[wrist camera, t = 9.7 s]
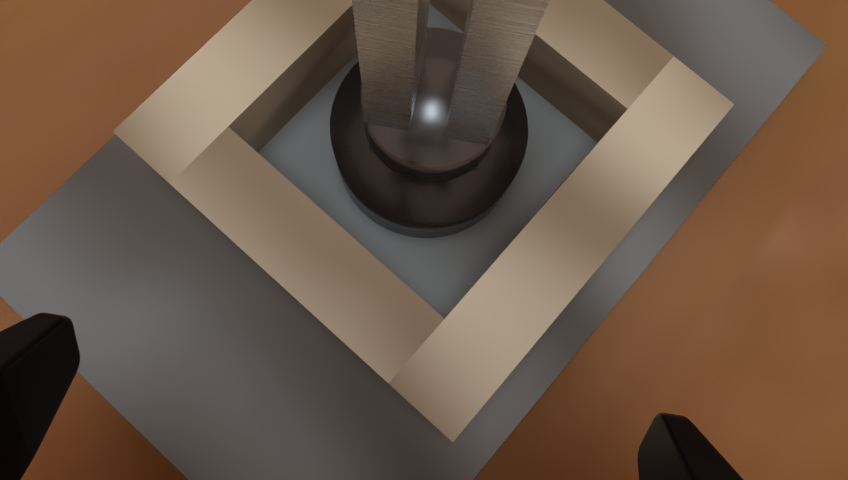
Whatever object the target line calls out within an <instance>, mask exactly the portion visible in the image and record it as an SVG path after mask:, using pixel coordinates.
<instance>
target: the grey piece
mask: <svg viewBox="0 0 848 480" xmlns="http://www.w3.org/2000/svg"><path fill="white" fill-rule="evenodd" d="M549 1H550V0H471V1H470V5H469V10H468V15H467V20H466V24H465V29H464V34H462V33H460V32H457V31H454V30H450V29H445V28H427V24H428V14H429V4H430V0H352V7H353V15H354V23H355V32H356V40H357V49H358V57H359V61H358V62H357V63H356V64H355V65H354V66H353V67H352V68H351V70H350V71H349V72H348V73H347V75H346V76H345V78H344V79H343V81H342V83H341V84H340V86H339V88H338V91H337V93H336V95H335V98H334V102H333V105H332V109H331V116H330V137H331V145H332V148H333V152H334V155H335V159H336V162H337V166H338V169H339V173H340V176H341V179H342V182H343V184H344V186H345V189H346V191H347V192H348V194H349V196H350V197H351V199H352V200H353V202H354V203H355V204H356V205H357V207H358V208H359V209H360V210H361V211H362V212H363V213H364V214H365V215H366V216H367V217H369V218H370V219H371V220H373V221H374V222H375V223H377V224H379V225H380V226H382V227H384V228H386V229H388V230H390V231H393V232H395V233H398V234H402V235H406V236H410V237H418V238H436V237H443V236H448V235H452V234H455V233H458V232H461V231H463V230H465V229H468V228H469V227H471V226H473V225H474V224H476V223H478V222H479V221H480V220H482V219H483V218H484V217H485V216H487V215H488V214H489V213H490V212H491V211H492V210H493V208H494V207H495V206H496V205H497V203H498V202H499V201H500V199H501V198H502V196H503V195H504V193H505V192H506V190H507V189H508V187H509V186H510V184H511V183H512V181H513V180H514V178H515V176H516V174H517V172H518V171H519V169H520V167H521V164H522V161H523V159H524V156H525V152H526V147H527V142H528V119H527V114H526V108H525V105H524V102H523V99H522V96H521V94H520V92H519V90H518V88H517V86H516V84H515V83H514V82H515V80H516V78H517V75H518V73H519V71H520V68H521V66H522V64H523V61H524V59H525V57H526V54H527V52H528V50H529V47H530V45H531V43H532V40H533V38H534V36H535V33H536V31H537V29H538V26H539V24H540V22H541V19H542V17H543V15H544V12H545V10H546V8H547V5H548V3H549Z"/></svg>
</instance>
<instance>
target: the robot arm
mask: <svg viewBox="0 0 848 480" xmlns="http://www.w3.org/2000/svg"><path fill="white" fill-rule="evenodd" d="M79 364H80V352H79V347H78V343H77V339H76V334H75V330H74V326H73V322H72V320H71V319H70V318H69V317H67V316H64V315H57V314H51V313H38V314H36V315H33V316H31V317H29V318H27V319H25V320H23V321H21V322H19V323H17V324H15V325H13V326H11V327H9V328H7V329H5V330H3V331H0V480H20V479H21V478H22V476H23V474H24V473H25V471H26V469H27V468H28V466H29V465H30V463H31V461H32V459H33V458H34V456H35V454H36V452H37V450H38V448H39V446H40V444H41V442H42V440H43V438H44V436H45V434H46V432H47V430H48V428H49V426H50V424H51V422H52V420H53V418H54V416H55V414H56V412H57V410H58V408H59V406H60V404H61V402H62V400H63V398H64V396H65V394H66V392H67V390H68V388H69V387H70V385H71V383H72V381H73V379H74V377H75V375H76V372H77V370H78V367H79ZM638 471H639V480H743V479H742V478H741V477H740V475H739V474H738V473H737V472H736V471H735V470H734V469H733V468H732V466H731V465H730V464H729V463H728V462H727V461H726V460H725V459H724V458H723V456H722V455H721V454H720V453H719V452H718V451H717V450H716V449H715V448H714V446H713V445H712V444H711V443H710V442H709V441H708V440H707V439H706V438H705V436H704V435H703V434H702V433H701V432H700V431H699V430H698V429H697V427H696V426H695V425H694V424H693V423H692V422H691V421H690V420H689V419H688V418H686V417H684V416H680V415H674V414H668V413H659V414H658V415H656V417H655V418H654V420H653V422H652V424H651V425H650V427H649V429H648V431H647V433H646V435H645V437H644V439H643V441H642V443H641V445H640V447H639V451H638Z"/></svg>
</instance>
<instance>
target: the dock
mask: <svg viewBox="0 0 848 480" xmlns="http://www.w3.org/2000/svg"><path fill="white" fill-rule="evenodd" d="M470 1H471V0H430V4H429V14H428V24H427V28H445V29H450V30H454V31H457V32H460V33H462V34H464V29H465V24H466V20H467V15H468V10H469V5H470ZM826 46H827V44H825V43H824V42H823V41H821V40H820V39H819V38H818V37H816V36H815V35H814V34H812V33H811V32H810V31H808V30H807V29H806V28H805V27H803V26H802V25H801V24H799V23H798V22H797V21H795V20H794V19H793V18H792V17H790V16H789V15H788V14H786V13H785V12H784V11H782V10H781V9H780V8H779V7H777V6H776V5H775V4H773V3H772V2H771V1H769V0H550V1H549V3H548V5H547V8H546V10H545V12H544V15H543V17H542V19H541V22H540V24H539V26H538V29H537V31H536V33H535V36H534V38H533V40H532V43H531V45H530V47H529V50H528V52H527V54H526V57H525V59H524V61H523V64H522V66H521V68H520V71H519V73H518V75H517V78H516V80H515V82H514V83H515V84H516V86H517V88H518V90H519V92H520V94H521V96H522V99H523V102H524V105H525V108H526V114H527V119H528V142H527V147H526V152H525V156H524V159H523V161H522V164H521V167H520V169H519V171H518V172H517V174H516V176H515V178H514V180H513V181H512V183H511V184H510V186H509V187H508V189H507V190H506V192H505V193H504V195H503V196H502V198H501V199H500V201H499V202H498V203H497V205H496V206H495V207H494V208H493V210H492V211H491V212H490V213H489V214H488V215H487V216H485V217H484V218H483V219H482V220H480V221H479V222H478V223H476V224H474V225H473V226H471V227H469V228H468V229H465V230H463V231H461V232H458V233H455V234H452V235H448V236H443V237H436V238H418V237H410V236H406V235H402V234H398V233H395V232H393V231H390V230H388V229H386V228H384V227H382V226H380V225H379V224H377V223H375V222H374V221H373V220H371V219H370V218H369V217H367V216H366V215H365V214H364V213H363V212H362V211H361V210H360V209H359V208H358V207H357V205H356V204H355V203H354V202H353V200H352V199H351V197H350V196H349V194H348V192H347V191H346V189H345V186H344V184H343V182H342V179H341V176H340V173H339V169H338V166H337V162H336V159H335V155H334V152H333V148H332V145H331V137H330V116H331V109H332V105H333V102H334V98H335V95H336V93H337V91H338V88H339V86H340V84H341V83H342V81H343V79H344V78H345V76H346V75H347V73H348V72H349V71H350V70H351V68H352V67H353V66H354V65H355V64H356V63H357V62H358V61H359V57H358V49H357V40H356V32H355V23H354V15H353V7H352V0H252V1H251V2H250V3H248V4H247V5H246V6H245V7H244V8H243V9H242V10H241V11H240V12H239V13H238V14H237V15H236V16H235V17H234V18H233V19H231V20H230V21H229V22H228V23H227V24H226V25H225V26H224V27H223V28H222V29H221V30H220V31H219V32H218V33H217V34H216V35H214V36H213V37H212V38H211V39H210V40H209V41H208V42H207V43H206V44H205V45H204V46H203V47H202V48H201V49H200V50H199V51H197V52H196V53H195V54H194V55H193V56H192V57H191V58H190V59H189V60H188V61H187V62H186V63H185V64H184V65H183V66H182V67H180V68H179V69H178V70H177V71H176V72H175V73H174V74H173V75H172V76H171V77H170V78H169V79H168V80H167V81H166V82H165V83H163V84H162V85H161V86H160V87H159V88H158V89H157V90H156V91H155V92H154V93H153V94H152V95H151V96H150V97H149V98H148V99H146V100H145V101H144V102H143V103H142V104H141V105H140V106H139V107H138V108H137V109H136V110H135V111H134V112H133V113H132V114H131V115H129V116H128V117H127V118H126V119H125V120H124V121H123V122H122V123H121V124H120V125H119V126H118V127H117V128H116V129H115V130H114V131H113V132H114V133H115V134H116V135H114V136H113V137H112V138H111V139H110V140H109V141H108V142H107V143H106V144H105V145H104V146H103V147H102V148H101V149H100V150H99V151H97V152H96V153H95V154H94V155H93V156H92V157H91V158H90V159H89V160H88V161H87V162H86V163H85V164H84V165H83V166H82V167H81V168H79V169H78V170H77V171H76V172H75V173H74V174H73V175H72V176H71V177H70V178H69V179H68V180H67V181H66V182H65V183H64V184H63V185H61V186H60V187H59V188H58V189H57V190H56V191H55V192H54V193H53V194H52V195H51V196H50V197H49V198H48V199H47V200H46V201H44V202H43V203H42V204H41V205H40V206H39V207H38V208H37V209H36V210H35V211H34V212H33V213H32V214H31V215H30V216H29V217H28V218H26V219H25V220H24V221H23V222H22V223H21V224H20V225H19V226H18V227H17V228H16V229H15V230H14V231H13V232H12V233H11V234H9V235H8V236H7V237H6V238H5V239H4V240H3V241H2V242H1V243H0V297H1V298H2V299H3V300H5V301H6V302H7V303H8V304H9V305H10V306H11V307H12V308H13V309H14V310H15V311H16V312H17V313H18V314H19V315H20V316H21V317H22V318H23V319H24V320H25V319H27V318H29V317H31V316H33V315H36V314H38V313H51V314H57V315H64V316H67V317H69V318H70V319H71V320H72V322H73V326H74V330H75V334H76V339H77V343H78V347H79V352H80V364H79V367H78V370H77V372H78V373H79V374H80V375H81V376H82V377H83V378H84V379H85V380H87V381H88V382H89V383H90V384H91V385H92V386H93V387H94V388H95V389H96V390H97V391H98V392H99V393H100V394H101V395H102V396H103V397H104V398H105V399H106V400H107V401H108V402H109V403H110V404H111V405H112V406H113V407H114V408H115V409H116V410H117V411H118V412H119V413H120V414H121V415H122V416H123V417H124V418H125V419H126V420H128V421H129V422H130V423H131V424H132V425H133V426H134V427H135V428H136V429H137V430H138V431H139V432H140V433H141V434H142V435H143V436H144V437H145V438H146V439H147V440H148V441H149V442H150V443H151V444H152V445H153V446H154V447H155V448H156V449H157V450H158V451H159V452H160V453H161V454H162V455H163V456H164V457H165V458H166V459H167V460H169V461H170V462H171V463H172V464H173V465H174V466H175V467H176V468H177V469H178V470H179V471H180V472H181V473H182V474H183V475H184V476H185V477H186V478H187V479H188V480H473V479H474V478H475V477H476V475H477V474H478V473H479V472H480V470H481V469H482V468H483V467H484V466H485V464H486V463H487V462H488V461H489V459H490V458H491V457H492V456H493V455H494V453H495V452H496V451H497V450H498V448H499V447H500V446H501V445H502V443H503V442H504V441H505V440H506V439H507V437H508V436H509V435H510V434H511V432H512V431H513V430H514V429H515V428H516V426H517V425H518V424H519V423H520V421H521V420H522V419H523V418H524V417H525V415H526V414H527V413H528V412H529V410H530V409H531V408H532V407H533V405H534V404H535V403H536V402H537V401H538V399H539V398H540V397H541V396H542V394H543V393H544V392H545V391H546V390H547V388H548V387H549V386H550V385H551V383H552V382H553V381H554V380H555V379H556V377H557V376H558V375H559V374H560V372H561V371H562V370H563V369H564V367H565V366H566V365H567V364H568V363H569V361H570V360H571V359H572V358H573V356H574V355H575V354H576V353H577V352H578V350H579V349H580V348H581V347H582V345H583V344H584V343H585V342H586V341H587V339H588V338H589V337H590V336H591V334H592V333H593V332H594V331H595V329H596V328H597V327H598V326H599V325H600V323H601V322H602V321H603V320H604V318H605V317H606V316H607V315H608V314H609V312H610V311H611V310H612V309H613V307H614V306H615V305H616V304H617V303H618V301H619V300H620V299H621V298H622V296H623V295H624V294H625V293H626V291H627V290H628V289H629V288H630V287H631V285H632V284H633V283H634V282H635V280H636V279H637V278H638V277H639V276H640V274H641V273H642V272H643V271H644V269H645V268H646V267H647V266H648V265H649V263H650V262H651V261H652V260H653V258H654V257H655V256H656V255H657V253H658V252H659V251H660V250H661V249H662V247H663V246H664V245H665V244H666V242H667V241H668V240H669V239H670V238H671V236H672V235H673V234H674V233H675V231H676V230H677V229H678V228H679V227H680V225H681V224H682V223H683V222H684V220H685V219H686V218H687V217H688V215H689V214H690V213H691V212H692V211H693V209H694V208H695V207H696V206H697V204H698V203H699V202H700V201H701V200H702V198H703V197H704V196H705V195H706V193H707V192H708V191H709V190H710V189H711V187H712V186H713V185H714V184H715V182H716V181H717V180H718V179H719V178H720V176H721V175H722V174H723V173H724V171H725V170H726V169H727V168H728V166H729V165H730V164H731V163H732V162H733V160H734V159H735V158H736V157H737V155H738V154H739V153H740V152H741V151H742V149H743V148H744V147H745V146H746V144H747V143H748V142H749V141H750V140H751V138H752V137H753V136H754V135H755V133H756V132H757V131H758V130H759V128H760V127H761V126H762V125H763V124H764V122H765V121H766V120H767V119H768V117H769V116H770V115H771V114H772V113H773V111H774V110H775V109H776V108H777V106H778V105H779V104H780V103H781V102H782V100H783V99H784V98H785V97H786V95H787V94H788V93H789V92H790V90H791V89H792V88H793V87H794V86H795V84H796V83H797V82H798V81H799V79H800V78H801V77H802V76H803V75H804V73H805V72H806V71H807V70H808V68H809V67H810V66H811V65H812V64H813V62H814V61H815V60H816V59H817V57H818V56H819V55H820V54H821V52H822V51H823V50H824V49H825V48H826Z"/></svg>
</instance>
